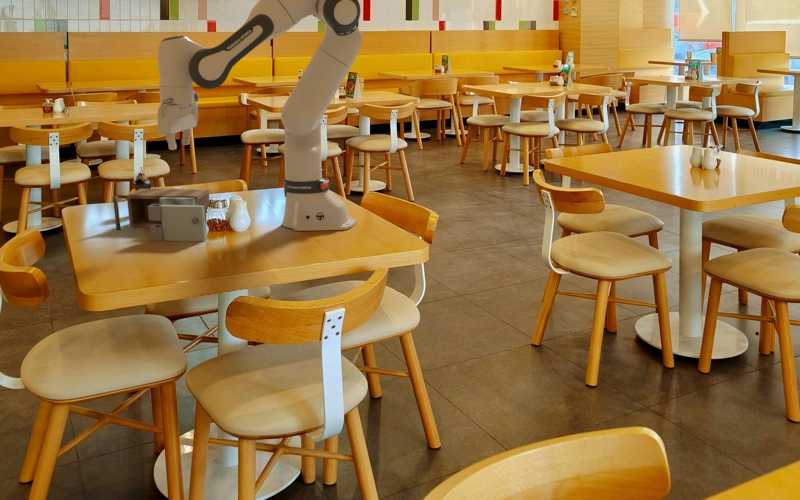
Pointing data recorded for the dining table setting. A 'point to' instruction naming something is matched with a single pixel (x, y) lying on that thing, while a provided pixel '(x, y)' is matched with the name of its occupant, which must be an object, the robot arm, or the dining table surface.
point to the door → (178, 222)
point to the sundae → (142, 182)
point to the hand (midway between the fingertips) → (179, 147)
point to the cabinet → (147, 197)
